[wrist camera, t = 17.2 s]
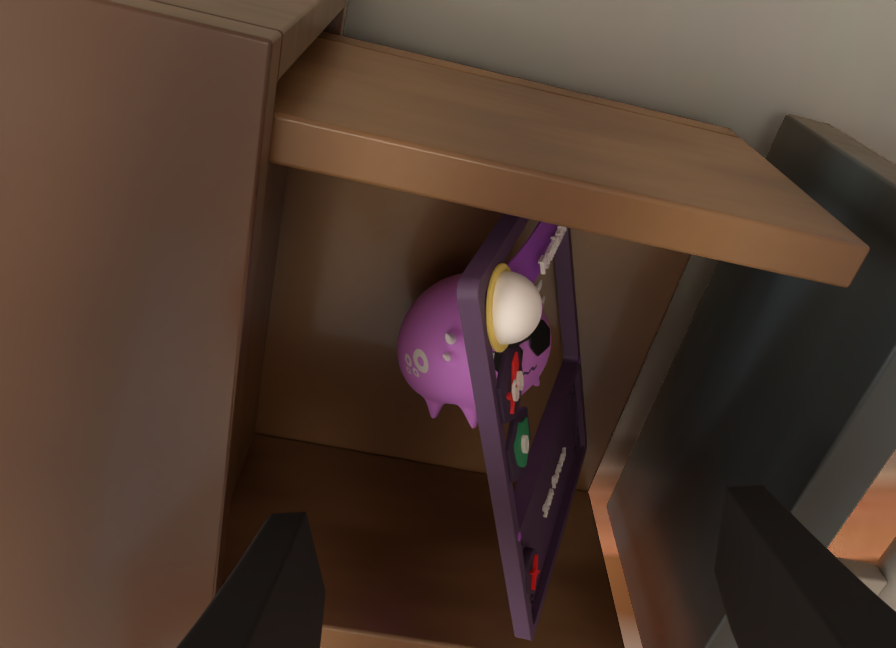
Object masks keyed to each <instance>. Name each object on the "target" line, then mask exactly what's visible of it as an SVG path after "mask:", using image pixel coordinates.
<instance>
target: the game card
mask: <svg viewBox="0 0 896 648" xmlns="http://www.w3.org/2000/svg"><path fill="white" fill-rule="evenodd" d="M528 221H529V219H527V218H522V217H518V216H513V215H508V214H504V213H503V215H502V216H501V217H500V219H499V220H498V222H497V223H496V225H495V226H494V228H493V229H492V231H491V232H490V234H489V235H488V237H487V238H486V240H485V241H484V243H483V244H482V245H481V247H480V248H479V250H478V251H477V253H476V254H475V256H474V257H473V259H472V260H471V262H470V263H469V265H468V266H467V268H466V269H465V271H464V272H463V273H461V274H456V275H453V276H450V277H447V278H444V279H442V280H440V281H438V282H437V283H435V284H433V285H432V286H431V287H429V288H428V289H427V290H425V291H424V292H423V293H422V294H421V295H420V296H419V297H418V298H417V299H416V301H415V302H414V303H413V304H412V306H411V307H410V309H409V310H408V312H407V314H406V315H405V317H404V320H403V322H402V325H401V328H400V331H399V335H398V341H397V357H398V363H399V367H400V370H401V372H402V374H403V376H404V378H405V380H406V381H407V383H408V384H409V385H410V387H411V388H412V389H413V390H415V391H416V392H417V393H418V394H420V395H421V396H422V397H423V398H424V399H425V401H426V403H427V406H428V409H429V413H430V416H431V417H432V418H436V417H437V416H438V414H439V412H440V410H441V408H442V406H443V405H444V404H446V403H447V404H456V405H458V406H459V407H460V408H461V409H462V411H463V413H464V415H465V417H466V418H467V420H468V422H469V424H470V426H471V428H475V427H476V426H477V423H478V425H479V430H480V436H481V442H482V448H483V454H484V460H485V466H486V471H487V477H488V483H489V489H490V495H491V501H492V507H493V512H494V518H495V524H496V530H497V536H498V542H499V547H500V553H501V559H502V565H503V571H504V577H505V583H506V588H507V594H508V600H509V606H510V612H511V618H512V624H513V629H514V635H515V637H517V638H522V639H527V640H533V639H534V636H535V632H536V629H537V625H538V622H539V618H540V614H541V611H542V607H543V604H544V600H545V597H546V593H547V589H548V586H549V582H550V579H551V575H552V572H553V568H554V565H555V561H556V557H557V554H558V550H559V547H560V543H561V540H562V536H563V532H564V529H565V525H566V522H567V518H568V515H569V511H570V508H571V504H572V500H573V497H574V493H575V490H576V486H577V483H578V479H579V475H580V472H581V468H582V465H583V461H584V458H585V454H586V450H587V433H586V420H585V407H584V395H583V382H582V369H581V357H580V344H579V331H578V319H577V306H576V293H575V281H574V268H573V255H572V243H571V230H570V228H568V227H564V226H559V225H554V224H550V223H545V222H541V221H540V222H539V223H538V225H537V226H536V228H535V229H534V231H533V232H532V234H531V235H530V237H529V238H528V240H527V241H526V242H525V244H524V245H523V246H522V248H521V249H520V250H519V251H518V253H517V254H516V255H515V256H514V257H513V258H512V259H511V261H510V262H509V263H508V264H505V263H503V262H504V261H505V259H506V257H507V256H508V254H509V252H510V251H511V249H512V247H513V246H514V244H515V242H516V241H517V239H518V237H519V236H520V234H521V232H522V231H523V229H524V227H525V226H526V224H527V222H528ZM552 257H554V260H555V271H556V282H557V293H558V304H559V314H560V325H561V336H562V347H563V362H562V365H561V367H560V370H559V373H558V375H557V378H556V381H555V383H554V386H553V389H552V391H551V394H550V397H549V399H548V402H547V405H546V407H545V410H544V413H543V415H542V418H541V421H540V424H539V426H538V429H537V432H536V434H535V437H534V440H533V442H532V445H531V448H530V450H529V447H530V441H531V433H530V425H529V417H528V409H527V407H521V408H519V405H520V400H521V395H522V394H523V393H525V392H526V391H527V390H528V389H529V388H530V387H531V386H532V385H534V386H539V385H540V381H539V376H540V375H541V373H542V371H543V369H544V367H545V365H546V363H547V360H548V357H549V354H550V349H551V330H550V326H549V323H548V320H547V318H546V316H545V314H544V301H545V295H544V296H543V297H542V298H541V297H540V294H539V292H540V290H541V287H542V280H540V281H539V283H538V284H537V285H536V286H535V285H534V282H535V280H536V279H537V277H538V275H539V274H540V272H541V274H546V271H545V269H548V268H549V265H550V261H552ZM509 421H510V423H509V428H508V434H507V439H506V438H505V432H504V425H503V424H506V423H508V422H509ZM517 479H519V480H518V482H517V485H516V488H515V490H514V492H513V485H512V482H515V481H516V480H517Z"/></svg>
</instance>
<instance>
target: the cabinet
mask: <svg viewBox="0 0 896 648" xmlns="http://www.w3.org/2000/svg"><path fill="white" fill-rule="evenodd" d="M347 5H348V0H0V648H176V647H177V646H178V645H179V643H180V642H181V641H182V639H183V638H184V637H185V636H186V634H187V633H188V632H189V631H190V629H191V628H192V627H193V626H194V624H195V623H196V622H197V620H198V619H199V618H200V616H201V615H202V613H203V612H204V611H205V609H206V608H207V606H208V605H209V604H210V602H211V601H212V599H213V598H214V597H215V595H216V594H217V592H218V591H219V590H220V588H221V587H222V577H223V568H224V559H225V550H226V541H227V532H228V523H229V514H230V505H231V495H232V486H233V477H234V468H235V459H236V450H237V441H238V432H239V423H240V413H241V404H242V395H243V386H244V377H245V368H246V359H247V350H248V340H249V331H250V322H251V313H252V304H253V295H254V286H255V277H256V268H257V258H258V249H259V240H260V231H261V222H262V213H263V204H264V195H265V185H266V176H267V167H268V158H269V149H270V140H271V131H272V122H273V113H274V103H275V94H276V85H277V81H278V80H279V79H280V78H281V76H282V75H283V74H284V73H285V72H286V71H287V70H288V69H289V68H290V66H291V65H292V64H293V63H294V62H295V61H296V60H297V59H298V58H299V57H300V55H301V54H302V53H303V52H304V51H305V50H306V49H307V48H308V47H309V45H310V44H311V43H312V42H313V41H314V40H315V39H316V38H317V37H318V36H319V34H320V33H321V32H322V31H324V32H328V33H332V34H336V35H340V36H343V32H344V25H345V18H346V12H347Z"/></svg>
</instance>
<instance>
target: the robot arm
mask: <svg viewBox="0 0 896 648" xmlns="http://www.w3.org/2000/svg"><path fill="white" fill-rule="evenodd" d="M714 573H715V576H716V580H717V584H718V587H719V591H720V595H721V598H722V602H723V605H724V609H725V612H726V615H727V619H728V622H729V625H730V629H731V631H732V634H733V636H734V639H735V641H736V644H737V646H738V648H896V611H894V610H893V609H892V608H891V607H890V606H889V605H888V604H886V603H885V602H884V601H883V600H882V599H881V598H880V597H879V596H877V595H876V594H875V593H874V592H873V591H872V590H871V589H870V588H869V587H867V586H866V585H865V584H864V583H863V582H862V581H861V580H860V579H859V578H858V577H857V576H856V575H855V574H853V573H852V572H851V571H850V570H849V569H848V568H847V567H846V566H845V565H844V564H843V563H842V562H841V561H839V560H838V559H837V558H836V557H835V556H834V555H833V554H832V553H831V552H830V551H829V550H828V549H827V548H826V547H825V546H824V545H823V544H822V543H821V542H820V541H819V540H818V539H817V538H816V537H815V536H814V535H813V534H812V533H811V532H810V531H809V530H808V529H807V528H806V527H805V526H804V525H803V524H802V523H801V522H800V521H799V520H798V519H797V518H796V517H795V516H794V515H793V514H792V513H791V512H790V511H789V510H788V509H787V508H786V507H785V506H784V505H783V504H782V503H781V502H780V501H779V500H778V499H777V498H776V497H775V496H774V495H773V494H772V493H771V492H770V491H769V490H768V489H767V488H766V487H765V486H764V485H750V486H733V487H726V491H725V498H724V505H723V512H722V519H721V525H720V532H719V539H718V546H717V553H716V560H715V567H714ZM325 593H326V591H325V587H324V583H323V579H322V575H321V571H320V567H319V563H318V559H317V554H316V550H315V546H314V542H313V538H312V534H311V530H310V526H309V522H308V518H307V514H306V512H291V513H274V514H271V515H270V516H269V517H268V518H267V519H266V520H265V522H264V524H263V525H262V527H261V528H260V530H259V531H258V533H257V535H256V536H255V538H254V539H253V541H252V542H251V544H250V545H249V547H248V548H247V550H246V552H245V553H244V555H243V556H242V558H241V559H240V561H239V562H238V564H237V565H236V567H235V568H234V569H233V571H232V572H231V574H230V575H229V577H228V578H227V580H226V581H225V583H224V584H223V585H222V587H221V588H220V590H219V591H218V592H217V594H216V595H215V597H214V598H213V599H212V601H211V602H210V604H209V605H208V606H207V608H206V609H205V611H204V612H203V613H202V615H201V616H200V618H199V619H198V620H197V622H196V623H195V624H194V626H193V627H192V628H191V629H190V631H189V632H188V633H187V634H186V636H185V637H184V638H183V639H182V641H181V642H180V643H179V645H178V646H177V647H176V648H320V643H321V634H322V625H323V615H324V604H325Z"/></svg>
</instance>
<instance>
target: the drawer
mask: <svg viewBox="0 0 896 648" xmlns="http://www.w3.org/2000/svg"><path fill="white" fill-rule="evenodd" d="M503 213H504V214H508V215H513V216H518V217H522V218H527V219H529V221H528V222H527V224H526V226H525V227H524V229H523V231H522V232H521V234H520V236H519V237H518V239H517V241H516V242H515V244H514V246H513V247H512V249H511V251H510V252H509V254H508V256H507V257H506V259H505V261H504V262H503V263H505V264H508V263H509V262H510V261H511V259H512V258H513V257H514V256H515V255H516V254H517V253H518V251H519V250H520V249H521V248H522V246H523V245H524V244H525V242H526V241H527V240H528V238H529V237H530V235H531V234H532V232H533V231H534V229H535V228H536V226H537V225H538V223H539V222H540V221H541V222H545V223H550V224H554V225H559V226H564V227H568V228H570V230H571V243H572V255H573V268H574V281H575V293H576V306H577V319H578V331H579V344H580V357H581V369H582V382H583V395H584V407H585V420H586V433H587V450H586V454H585V458H584V461H583V465H582V468H581V472H580V475H579V479H578V483H577V486H576V490H575V493H574V497H573V500H572V504H571V508H570V511H569V515H568V518H567V522H566V525H565V529H564V532H563V536H562V540H561V543H560V547H559V550H558V554H557V557H556V561H555V565H554V568H553V572H552V575H551V579H550V582H549V586H548V589H547V593H546V597H545V600H544V604H543V607H542V611H541V614H540V618H539V622H538V625H537V629H536V632H535V636H534V639H533V640H527V639H522V638H517V637H515V635H514V629H513V624H512V618H511V612H510V606H509V600H508V594H507V588H506V583H505V577H504V571H503V565H502V559H501V553H500V547H499V542H498V536H497V530H496V524H495V518H494V512H493V507H492V501H491V495H490V489H489V483H488V477H487V471H486V466H485V460H484V454H483V448H482V442H481V436H480V430H479V425H478V423H477V426H476V427H475V428H471V426H470V424H469V422H468V420H467V418H466V417H465V415H464V413H463V411H462V409H461V408H460V407H459V406H458V405H456V404H447V403H446V404H444V405H443V406H442V408H441V410H440V412H439V414H438V416H437V417H436V418H432V417H431V416H430V413H429V409H428V406H427V403H426V401H425V399H424V398H423V397H422V396H421V395H420V394H418V393H417V392H416V391H415V390H413V389H412V388H411V387H410V385H409V384H408V383H407V381H406V380H405V378H404V376H403V374H402V372H401V370H400V367H399V363H398V357H397V341H398V335H399V331H400V328H401V325H402V322H403V320H404V317H405V315H406V314H407V312H408V310H409V309H410V307H411V306H412V304H413V303H414V302H415V301H416V299H417V298H418V297H419V296H420V295H421V294H422V293H423V292H424V291H425V290H427V289H428V288H429V287H431V286H432V285H433V284H435V283H437V282H438V281H440V280H442V279H444V278H447V277H450V276H453V275H456V274H461V273H463V272H464V271H465V269H466V268H467V266H468V265H469V263H470V262H471V260H472V259H473V257H474V256H475V254H476V253H477V251H478V250H479V248H480V247H481V245H482V244H483V243H484V241H485V240H486V238H487V237H488V235H489V234H490V232H491V231H492V229H493V228H494V226H495V225H496V223H497V222H498V220H499V219H500V217H501V216H502V215H503ZM691 254H692V255H697V256H701V257H706V258H710V259H715V260H719V261H718V264H717V266H716V268H715V270H714V272H713V275H712V277H711V279H710V281H709V283H708V285H707V288H706V290H705V292H704V294H703V296H702V299H701V301H700V303H699V305H698V307H697V309H696V312H695V314H694V316H693V318H692V320H691V323H690V325H689V327H688V329H687V331H686V333H685V336H684V338H683V340H682V342H681V344H680V347H679V349H678V351H677V353H676V355H675V358H674V360H673V362H672V364H671V366H670V368H669V371H668V373H667V375H666V377H665V379H664V382H663V384H662V386H661V388H660V390H659V392H658V395H657V397H656V399H655V401H654V403H653V406H652V408H651V410H650V412H649V414H648V416H647V419H646V421H645V423H644V425H643V427H642V430H641V432H640V434H639V436H638V438H637V440H636V443H635V445H634V447H633V449H632V451H631V454H630V456H629V458H628V460H627V462H626V465H625V467H624V469H623V471H622V473H621V475H620V478H619V480H618V482H617V484H616V486H615V489H614V491H613V493H612V495H611V497H610V499H609V502H608V504H607V510H608V514H609V518H610V522H611V526H612V530H613V534H614V537H615V541H616V545H617V549H618V553H619V557H620V561H621V565H622V568H623V572H624V576H625V580H626V584H627V588H628V592H629V596H630V599H631V604H632V607H633V611H634V615H635V619H636V623H637V627H638V631H639V635H640V638H641V643H642V646H643V648H738V646H737V644H736V641H735V639H734V636H733V634H732V631H731V629H730V625H729V622H728V619H727V615H726V612H725V609H724V605H723V602H722V598H721V595H720V591H719V587H718V584H717V580H716V576H715V573H714V567H715V560H716V553H717V546H718V539H719V532H720V525H721V519H722V512H723V505H724V498H725V491H726V487H733V486H750V485H764V486H765V487H766V488H767V489H768V490H769V491H770V492H771V493H772V494H773V495H774V496H775V497H776V498H777V499H778V500H779V501H780V502H781V503H782V504H783V505H784V506H785V507H786V508H787V509H788V510H789V511H790V512H791V513H792V514H793V515H794V516H795V517H796V518H797V519H798V520H799V521H800V522H801V523H802V524H803V525H804V526H805V527H806V528H807V529H808V530H809V531H810V532H811V533H812V534H813V535H814V536H815V537H816V538H817V539H818V540H819V541H820V542H821V543H822V544H823V545H824V546H825V547H826V548H828V546H829V545H830V543H831V542H832V541H833V539H834V538H835V536H836V535H837V533H838V532H839V530H840V529H841V528H842V526H843V525H844V523H845V522H846V520H847V519H848V517H849V516H850V514H851V513H852V512H853V510H854V509H855V507H856V506H857V504H858V503H859V501H860V500H861V498H862V497H863V496H864V494H865V493H866V491H867V490H868V488H869V487H870V485H871V484H872V483H873V481H874V480H875V478H876V477H877V475H878V474H879V472H880V471H881V469H882V468H883V467H884V465H885V464H886V462H887V461H888V459H889V458H890V456H891V455H892V454H893V452H894V451H895V449H896V165H895V164H894V163H892V162H890V161H889V160H887V159H885V158H884V157H882V156H880V155H879V154H877V153H876V152H874V151H872V150H871V149H869V148H867V147H866V146H864V145H862V144H861V143H859V142H858V141H856V140H854V139H853V138H851V137H849V136H848V135H846V134H844V133H843V132H841V131H840V130H838V129H836V128H835V127H833V126H831V125H830V124H827V123H823V122H819V121H815V120H810V119H806V118H802V117H798V116H794V115H790V114H788V115H786V116H785V117H784V119H783V122H782V124H781V126H780V128H779V130H778V133H777V135H776V137H775V139H774V141H773V143H772V146H771V148H770V150H769V152H768V154H767V157H766V159H765V158H764V157H763V156H761V155H760V154H759V153H758V152H757V151H755V150H754V149H753V148H752V147H751V146H749V145H748V144H747V143H746V142H745V141H744V140H742V139H741V138H740V137H739V136H738V135H736V134H735V133H734V132H733V131H732V130H731V129H728V128H724V127H720V126H716V125H712V124H707V123H703V122H699V121H695V120H691V119H687V118H682V117H678V116H674V115H670V114H666V113H662V112H657V111H653V110H649V109H645V108H641V107H637V106H632V105H628V104H624V103H620V102H616V101H612V100H607V99H603V98H599V97H595V96H591V95H587V94H582V93H578V92H574V91H570V90H566V89H561V88H557V87H553V86H549V85H545V84H541V83H536V82H532V81H528V80H524V79H520V78H516V77H511V76H507V75H503V74H499V73H495V72H491V71H486V70H482V69H478V68H474V67H470V66H466V65H461V64H457V63H453V62H449V61H445V60H441V59H436V58H432V57H428V56H424V55H420V54H416V53H411V52H407V51H403V50H399V49H395V48H391V47H386V46H382V45H378V44H374V43H370V42H365V41H361V40H357V39H353V38H349V37H345V36H340V35H336V34H332V33H328V32H324V31H322V32H321V33H320V34H319V36H318V37H317V38H316V39H315V40H314V41H313V42H312V43H311V44H310V45H309V47H308V48H307V49H306V50H305V51H304V52H303V53H302V54H301V55H300V57H299V58H298V59H297V60H296V61H295V62H294V63H293V64H292V65H291V66H290V68H289V69H288V70H287V71H286V72H285V73H284V74H283V75H282V76H281V78H280V79H279V80H278V81H277V85H276V94H275V103H274V113H273V122H272V131H271V140H270V149H269V158H268V167H267V176H266V185H265V195H264V204H263V213H262V222H261V231H260V240H259V249H258V258H257V268H256V277H255V286H254V295H253V304H252V313H251V322H250V331H249V340H248V350H247V359H246V368H245V377H244V386H243V395H242V404H241V413H240V423H239V432H238V441H237V450H236V459H235V468H234V477H233V486H232V495H231V505H230V514H229V523H228V532H227V541H226V550H225V559H224V568H223V577H222V585H223V584H224V583H225V581H226V580H227V578H228V577H229V575H230V574H231V572H232V571H233V569H234V568H235V567H236V565H237V564H238V562H239V561H240V559H241V558H242V556H243V555H244V553H245V552H246V550H247V548H248V547H249V545H250V544H251V542H252V541H253V539H254V538H255V536H256V535H257V533H258V531H259V530H260V528H261V527H262V525H263V524H264V522H265V520H266V519H267V518H268V517H269V516H270V515H271V514H274V513H291V512H306V514H307V518H308V522H309V526H310V530H311V534H312V538H313V542H314V546H315V550H316V554H317V559H318V563H319V567H320V571H321V575H322V579H323V583H324V587H325V591H326V593H325V604H324V615H323V625H322V634H321V643H320V648H625V647H624V643H623V639H622V634H621V630H620V626H619V622H618V617H617V613H616V609H615V605H614V600H613V596H612V592H611V587H610V583H609V579H608V574H607V570H606V566H605V561H604V557H603V553H602V548H601V544H600V540H599V536H598V531H597V527H596V523H595V518H594V514H593V510H592V505H591V501H590V497H589V493H588V490H589V488H590V486H591V484H592V481H593V479H594V477H595V474H596V472H597V470H598V467H599V465H600V463H601V461H602V458H603V456H604V454H605V451H606V449H607V447H608V444H609V442H610V440H611V438H612V435H613V433H614V431H615V428H616V426H617V424H618V421H619V419H620V417H621V415H622V412H623V410H624V408H625V405H626V403H627V401H628V398H629V396H630V394H631V392H632V389H633V387H634V385H635V382H636V380H637V378H638V375H639V373H640V371H641V369H642V366H643V364H644V362H645V359H646V357H647V355H648V352H649V350H650V348H651V346H652V343H653V341H654V339H655V336H656V334H657V332H658V329H659V327H660V325H661V323H662V320H663V318H664V316H665V313H666V311H667V309H668V306H669V304H670V302H671V300H672V297H673V295H674V293H675V290H676V288H677V286H678V283H679V281H680V279H681V277H682V274H683V272H684V270H685V267H686V265H687V263H688V260H689V258H690V256H691ZM545 271H546V274H541V272H540V274H539V275H538V277H537V279H536V280H535V282H534V285H535V286H536V285H537V284H538V283H539V281H540V280H542V287H541V290H540V292H539V294H540V297H541V298H542V297H543V296H544V295H545V301H544V314H545V316H546V318H547V320H548V323H549V326H550V330H551V349H550V354H549V357H548V360H547V363H546V365H545V367H544V369H543V371H542V373H541V375H540V376H539V381H540V385H539V386H534V385H532V386H531V387H530V388H529V389H528V390H527V391H526V392H525V393H523V394H522V395H521V400H520V405H519V408H521V407H527V409H528V417H529V425H530V433H531V441H530V447H529V450H530V448H531V445H532V442H533V440H534V437H535V434H536V432H537V429H538V426H539V424H540V421H541V418H542V415H543V413H544V410H545V407H546V405H547V402H548V399H549V397H550V394H551V391H552V389H553V386H554V383H555V381H556V378H557V375H558V373H559V370H560V367H561V365H562V362H563V347H562V336H561V325H560V314H559V304H558V293H557V282H556V271H555V260H554V257H552V261H550V265H549V268H548V269H545ZM509 423H510V421H509V422H508V423H506V424H503V425H504V432H505V438H506V439H507V434H508V428H509ZM518 480H519V479H517V480H516V481H515V482H512V485H513V492H514V490H515V488H516V485H517V482H518ZM836 558H837V559H838V560H839V561H841V562H842V563H843V564H844V565H845V566H846V567H847V568H848V569H849V570H850V571H851V572H852V573H853V574H855V575H856V576H857V577H858V578H859V579H860V580H861V581H862V582H863V583H864V584H865V585H866V586H867V587H869V588H870V589H871V590H872V591H873V592H874V593H875V594H876V595H877V596H879V597H880V598H881V599H882V600H883V601H884V602H885V603H886V604H888V605H889V606H890V607H891V608H892V609H893V610H894V611H896V537H895V539H894V540H893V541H892V543H891V544H890V545H889V547H888V548H887V549H886V551H885V552H884V553H883V555H882V556H881V557H880V559H879V560H878V561H877V563H876V564H872V563H867V562H861V561H855V560H849V559H843V558H838V557H836Z"/></svg>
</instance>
